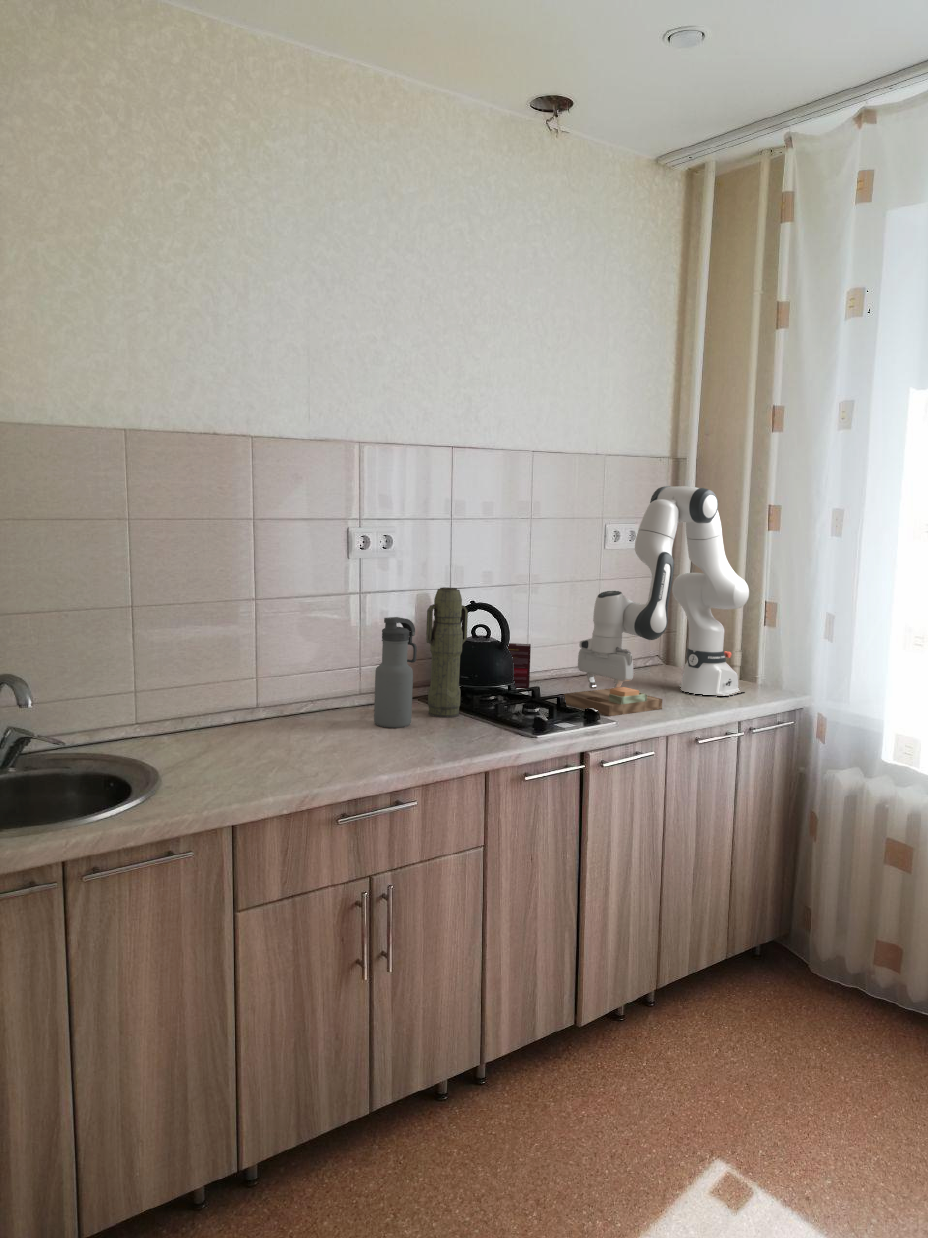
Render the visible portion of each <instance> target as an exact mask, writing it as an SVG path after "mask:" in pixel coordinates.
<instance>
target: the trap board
mask: <svg viewBox="0 0 928 1238" xmlns="http://www.w3.org/2000/svg"><path fill="white" fill-rule="evenodd" d="M611 688H612V687H610V688H602V689H594V690H583V691H575V692H567V693H566V692H565V693H564V694H563V696H564V695H565V700H566V704H565V705H568V706H572V707H574V708H579V709H582V710H585V709H586V708H594V709H596V710H598V711H599V713H600V714H599V713H598V714H599V715H603V716H607V717H612V716H613V717H614V716H620V715H627V714H628V715H629V714H637V713H643V712H649V711H657V710H658V711H659V710H662V709H663V698H659V697H656V696H651V695H648V694H647V693H643V692H640V691H639V695H632V696H624V697H621V696H617V695H613V694H610V689H611Z"/></svg>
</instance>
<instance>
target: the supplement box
mask: <svg viewBox="0 0 928 1238" xmlns="http://www.w3.org/2000/svg"><path fill="white" fill-rule="evenodd" d="M508 643H509V646H508V649H509V651H510V653H511V655H512V657H513V663H514V681H515V686H516V688H529V689H530V677H531V676H530V675H531V672H530V671H531V651H532V650H531V647H532V646H531V643H514V642H512V643H511V642H508Z"/></svg>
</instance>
